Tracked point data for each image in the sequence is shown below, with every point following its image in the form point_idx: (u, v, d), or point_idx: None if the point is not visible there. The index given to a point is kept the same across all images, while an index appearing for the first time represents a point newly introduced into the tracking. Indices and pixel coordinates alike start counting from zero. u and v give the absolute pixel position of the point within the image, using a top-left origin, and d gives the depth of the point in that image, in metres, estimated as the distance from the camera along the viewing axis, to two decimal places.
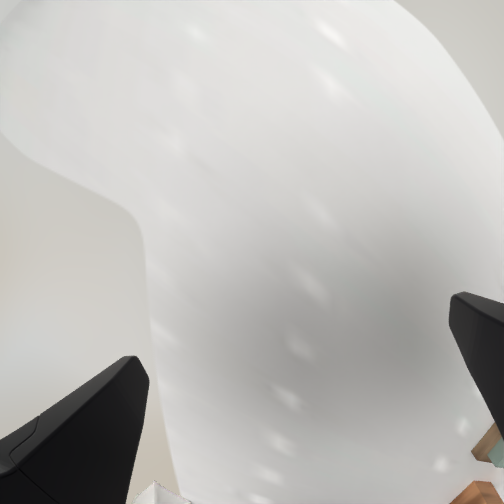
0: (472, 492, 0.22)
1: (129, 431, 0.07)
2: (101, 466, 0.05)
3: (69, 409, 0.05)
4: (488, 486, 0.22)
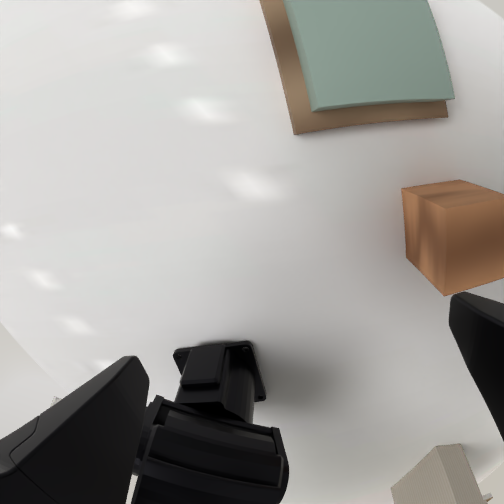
0: (411, 207, 0.18)
1: (129, 431, 0.07)
2: (101, 466, 0.05)
3: (69, 409, 0.05)
4: (450, 185, 0.17)
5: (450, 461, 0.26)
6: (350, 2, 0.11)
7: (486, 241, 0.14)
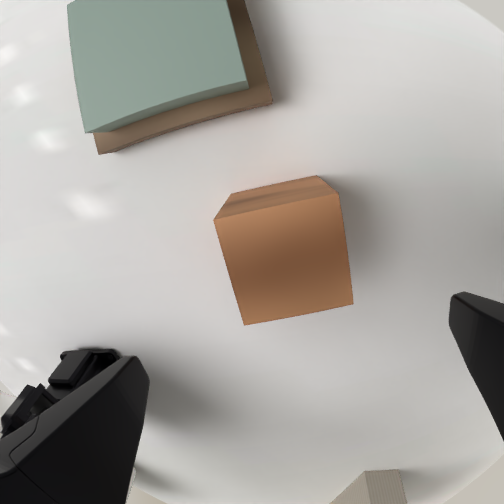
0: None
1: (129, 431, 0.07)
2: (101, 466, 0.05)
3: (69, 409, 0.05)
4: (290, 183, 0.16)
5: (380, 489, 0.25)
6: (120, 11, 0.10)
7: (297, 257, 0.13)
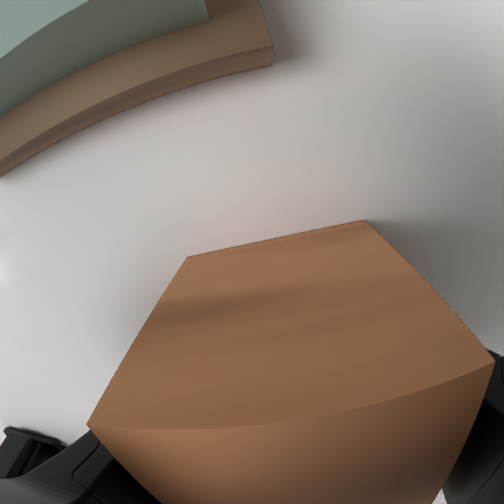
0: None
1: None
2: None
3: None
4: (312, 246, 0.07)
5: None
6: None
7: (332, 496, 0.04)
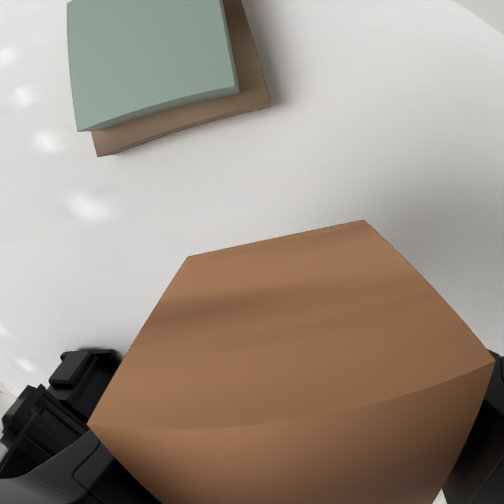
0: None
1: None
2: None
3: None
4: (313, 246, 0.07)
5: None
6: (117, 12, 0.11)
7: (333, 496, 0.04)
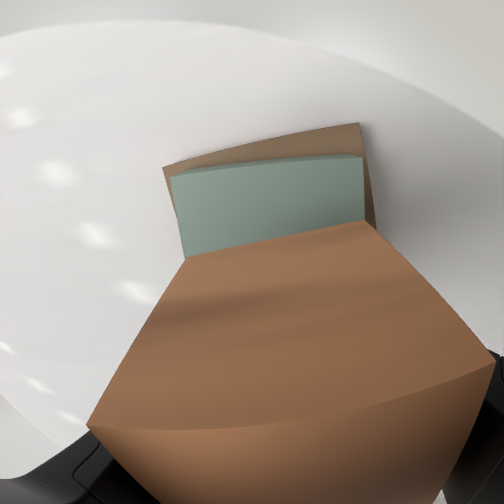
0: None
1: None
2: None
3: None
4: (313, 246, 0.07)
5: None
6: (249, 221, 0.13)
7: (333, 496, 0.04)
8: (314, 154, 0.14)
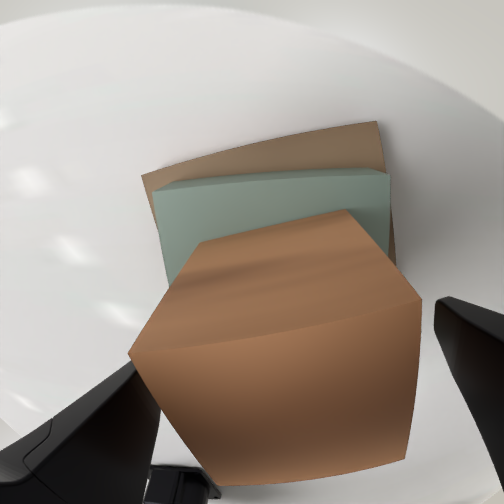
0: None
1: (145, 432, 0.07)
2: (118, 469, 0.05)
3: (85, 411, 0.05)
4: (300, 230, 0.09)
5: None
6: None
7: (313, 420, 0.05)
8: (323, 159, 0.12)
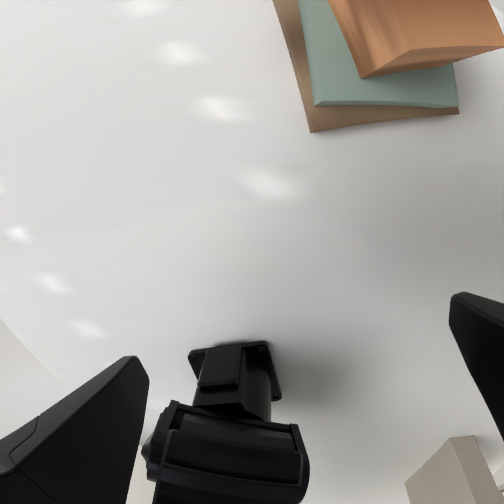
0: None
1: (129, 431, 0.07)
2: (101, 466, 0.05)
3: (69, 409, 0.05)
4: None
5: (465, 452, 0.26)
6: None
7: None
8: None
